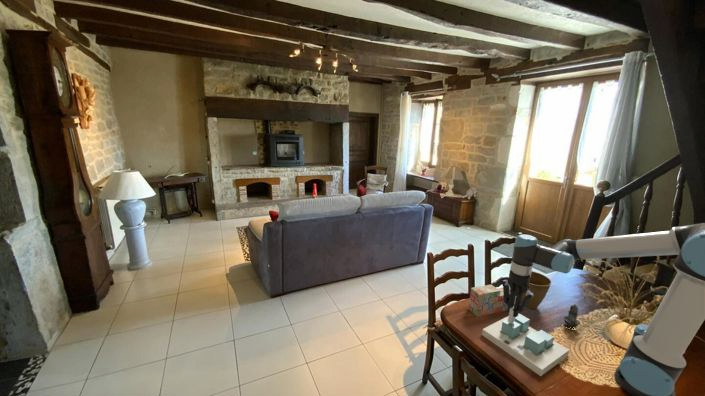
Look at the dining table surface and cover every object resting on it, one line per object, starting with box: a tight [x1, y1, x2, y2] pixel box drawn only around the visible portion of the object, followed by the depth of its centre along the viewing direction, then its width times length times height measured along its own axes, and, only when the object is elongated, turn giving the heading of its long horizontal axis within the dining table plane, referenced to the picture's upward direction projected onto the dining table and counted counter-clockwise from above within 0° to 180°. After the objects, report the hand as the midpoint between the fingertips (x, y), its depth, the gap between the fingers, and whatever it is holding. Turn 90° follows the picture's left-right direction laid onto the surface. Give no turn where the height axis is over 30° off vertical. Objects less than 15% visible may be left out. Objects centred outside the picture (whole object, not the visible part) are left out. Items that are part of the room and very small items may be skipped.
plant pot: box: [521, 270, 552, 310], centre depth 148 cm, size 15×15×16 cm
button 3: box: [524, 332, 546, 355], centre depth 116 cm, size 5×5×5 cm
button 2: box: [515, 313, 531, 333], centre depth 127 cm, size 5×5×5 cm
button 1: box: [501, 319, 521, 338], centre depth 124 cm, size 5×5×5 cm
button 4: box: [536, 329, 555, 350], centre depth 119 cm, size 5×5×5 cm
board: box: [481, 315, 570, 377], centre depth 122 cm, size 25×20×3 cm
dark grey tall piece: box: [562, 304, 580, 329], centre depth 132 cm, size 6×6×12 cm
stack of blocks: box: [468, 284, 510, 317], centre depth 145 cm, size 21×6×12 cm, turn 106°
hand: (511, 321), depth 124 cm, fingers closed
